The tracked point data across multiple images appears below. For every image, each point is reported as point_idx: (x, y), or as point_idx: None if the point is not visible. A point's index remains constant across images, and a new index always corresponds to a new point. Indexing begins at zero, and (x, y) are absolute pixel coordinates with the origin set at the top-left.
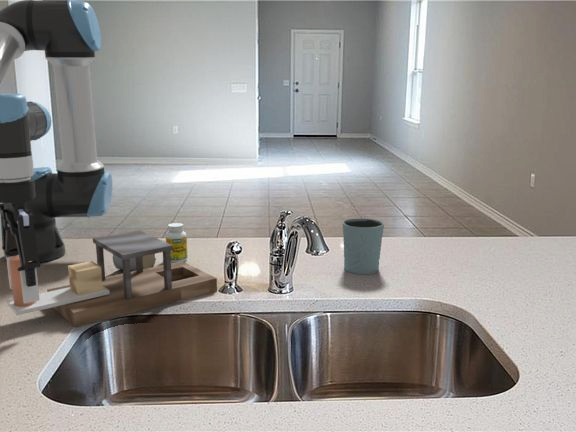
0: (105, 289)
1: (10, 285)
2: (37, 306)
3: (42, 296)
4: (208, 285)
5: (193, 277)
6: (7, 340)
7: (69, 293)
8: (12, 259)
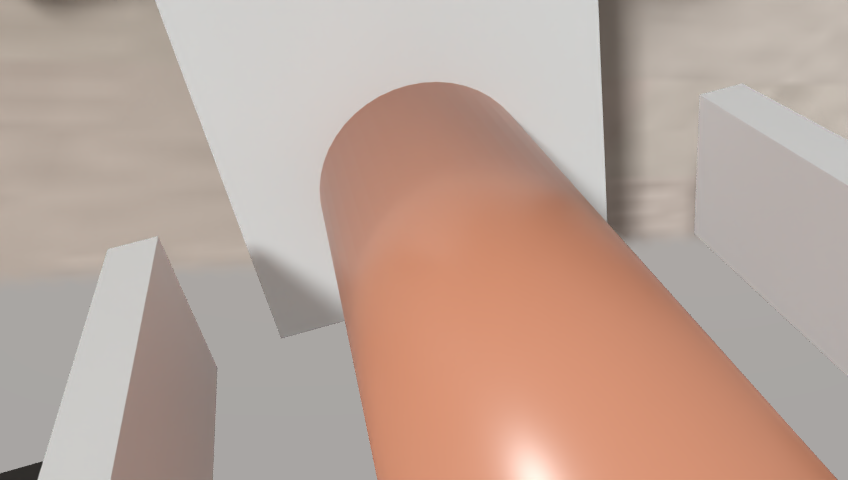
0: None
1: (212, 399)
2: (593, 77)
3: (297, 7)
4: None
5: None
6: (633, 225)
7: None
8: None
